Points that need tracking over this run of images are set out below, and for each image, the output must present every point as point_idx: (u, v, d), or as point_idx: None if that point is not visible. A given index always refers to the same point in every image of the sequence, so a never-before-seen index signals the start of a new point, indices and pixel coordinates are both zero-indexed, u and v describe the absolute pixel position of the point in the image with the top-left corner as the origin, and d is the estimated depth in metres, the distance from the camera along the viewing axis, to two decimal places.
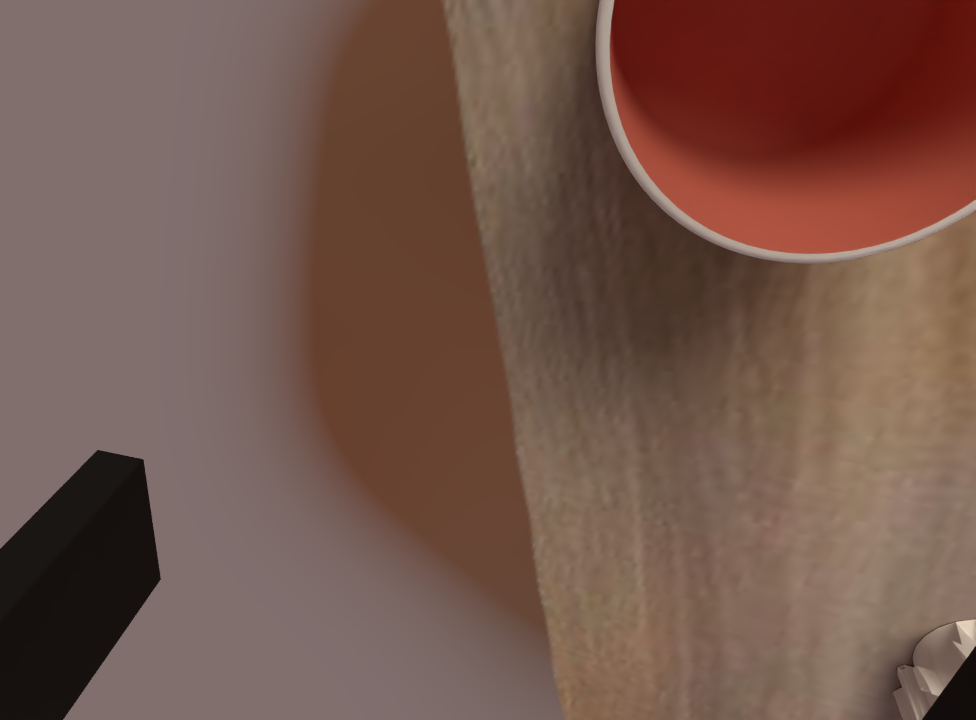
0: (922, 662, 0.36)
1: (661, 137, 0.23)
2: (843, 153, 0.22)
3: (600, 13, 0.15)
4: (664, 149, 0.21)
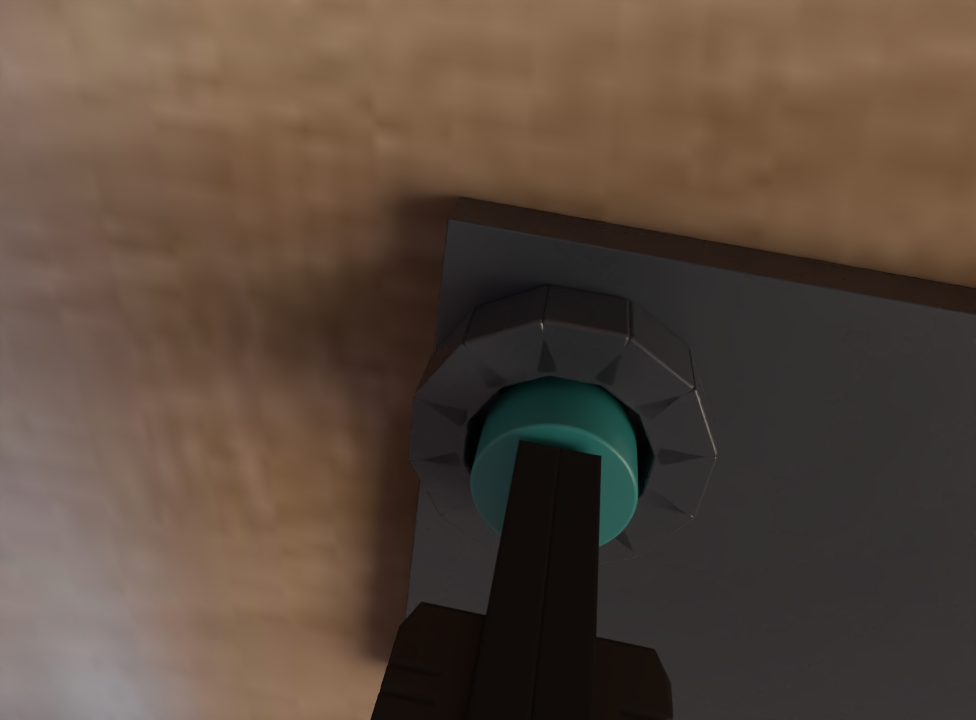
0: None
1: None
2: None
3: None
4: None
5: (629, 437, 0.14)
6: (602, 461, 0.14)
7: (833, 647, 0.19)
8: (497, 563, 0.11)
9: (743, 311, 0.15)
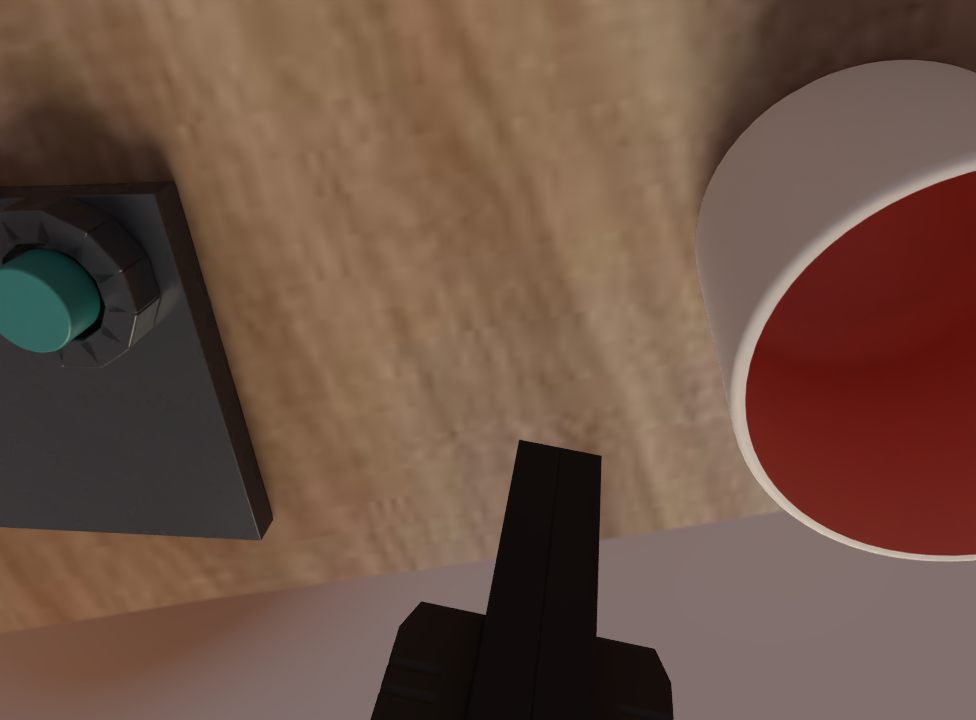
0: None
1: None
2: None
3: None
4: None
5: None
6: (59, 331, 0.25)
7: (32, 444, 0.32)
8: (497, 563, 0.11)
9: (182, 346, 0.28)
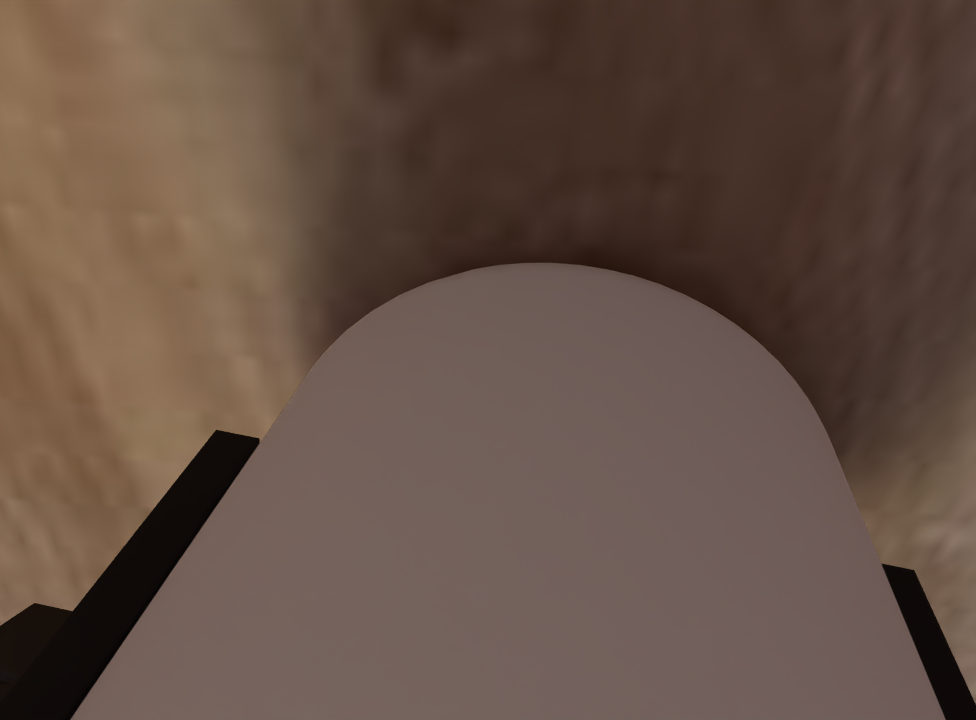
0: None
1: None
2: None
3: None
4: None
5: None
6: None
7: None
8: (114, 561, 0.10)
9: None
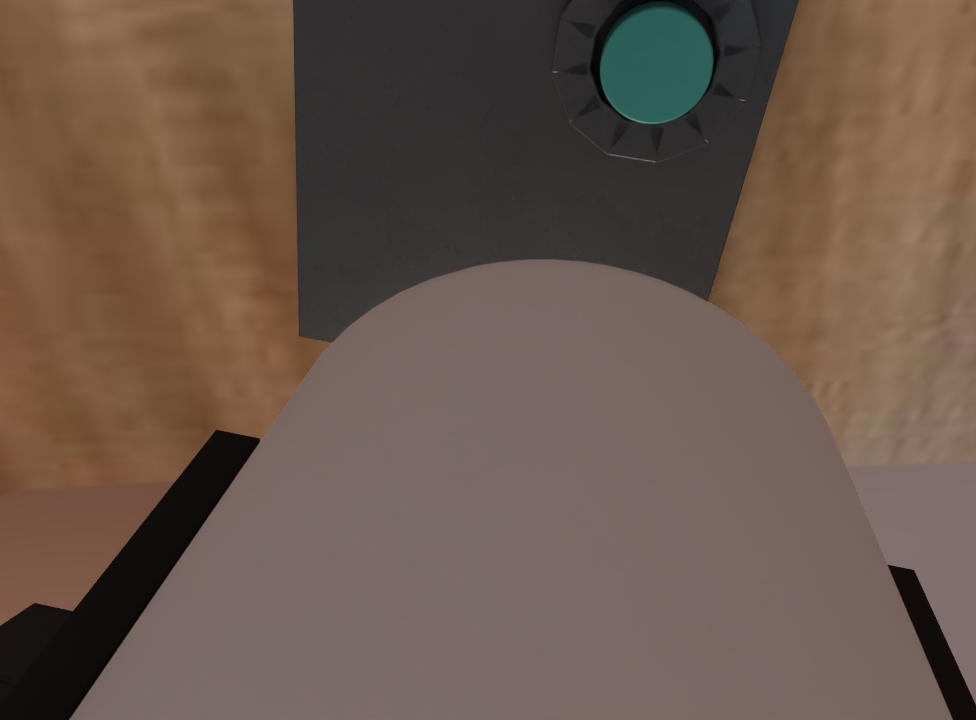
0: None
1: None
2: None
3: None
4: None
5: None
6: (684, 99, 0.22)
7: (463, 252, 0.28)
8: (114, 561, 0.10)
9: (725, 160, 0.25)
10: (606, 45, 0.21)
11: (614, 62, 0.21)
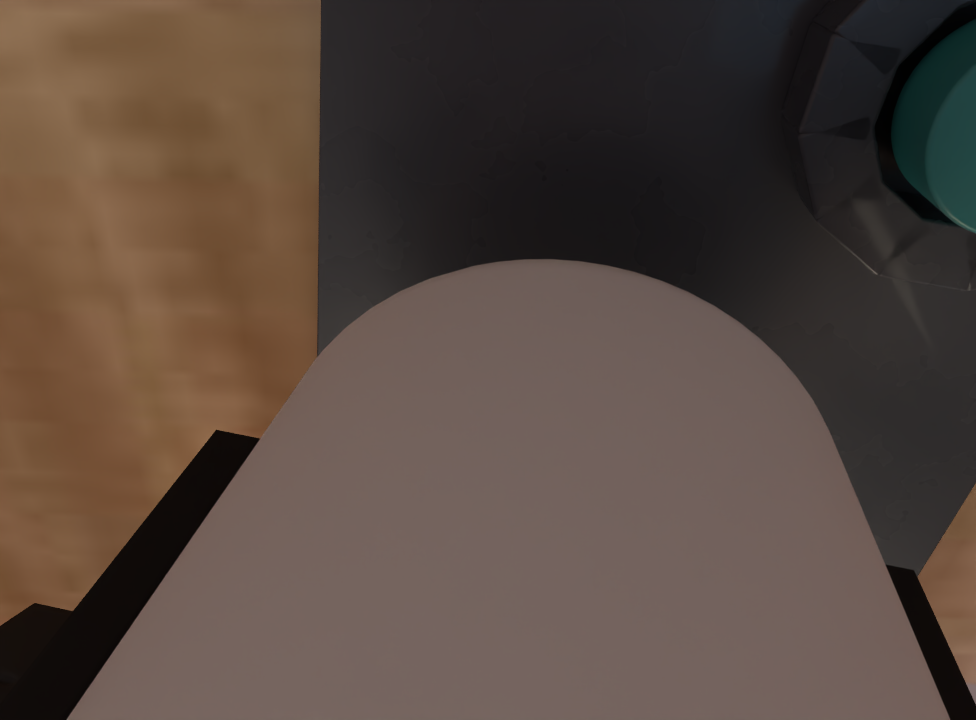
0: None
1: None
2: None
3: None
4: None
5: None
6: None
7: None
8: (114, 561, 0.10)
9: None
10: (952, 92, 0.11)
11: (962, 125, 0.11)
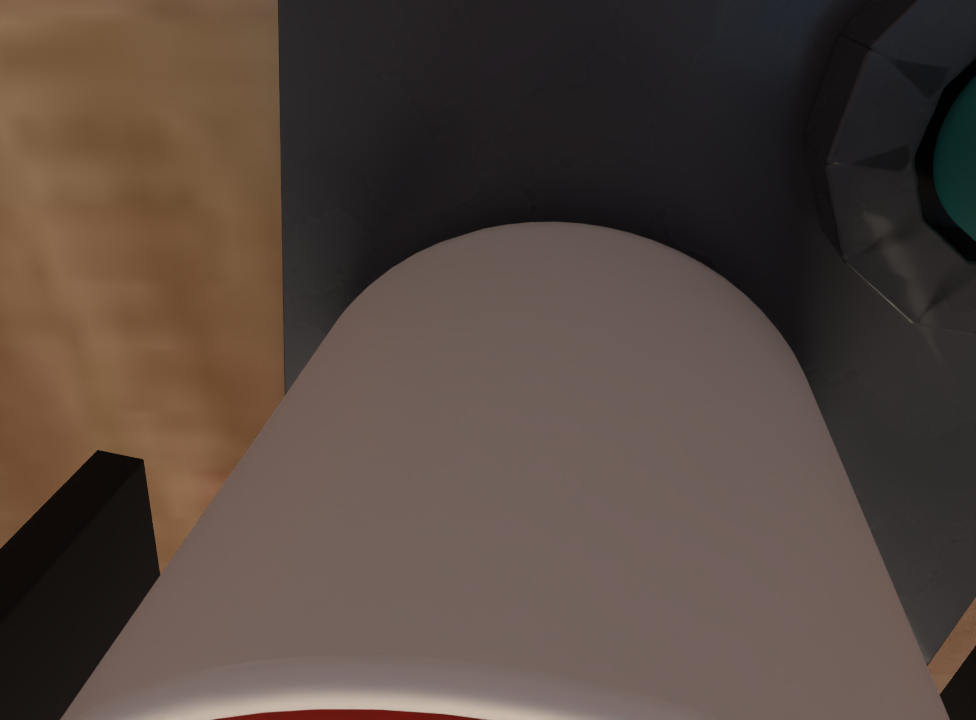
0: None
1: None
2: None
3: None
4: None
5: None
6: None
7: None
8: None
9: None
10: None
11: None
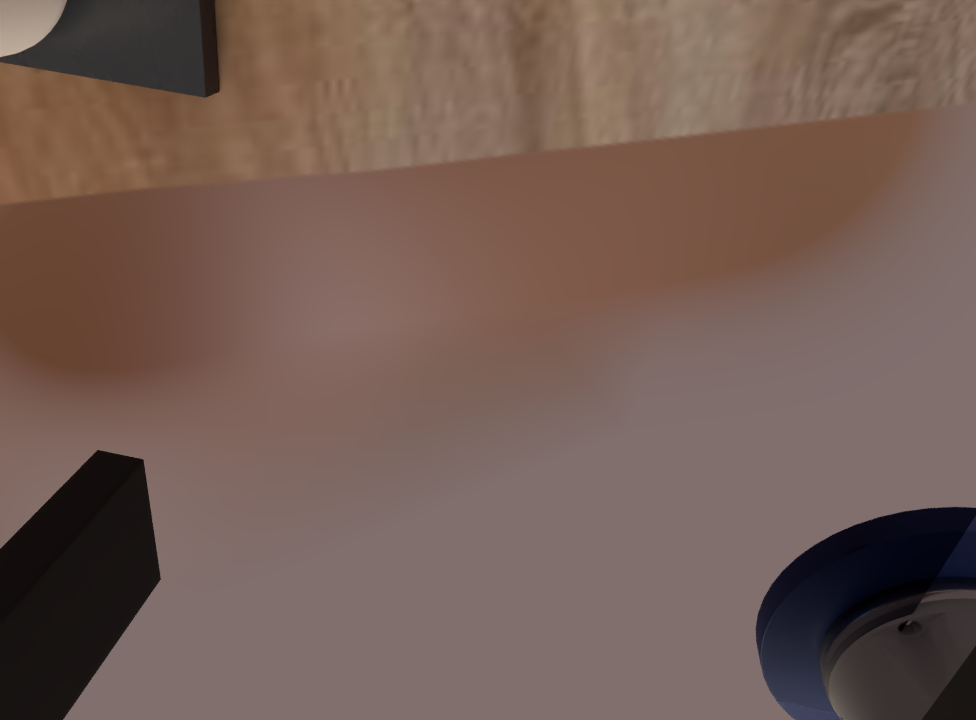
0: None
1: None
2: None
3: None
4: None
5: None
6: None
7: None
8: None
9: None
10: None
11: None
